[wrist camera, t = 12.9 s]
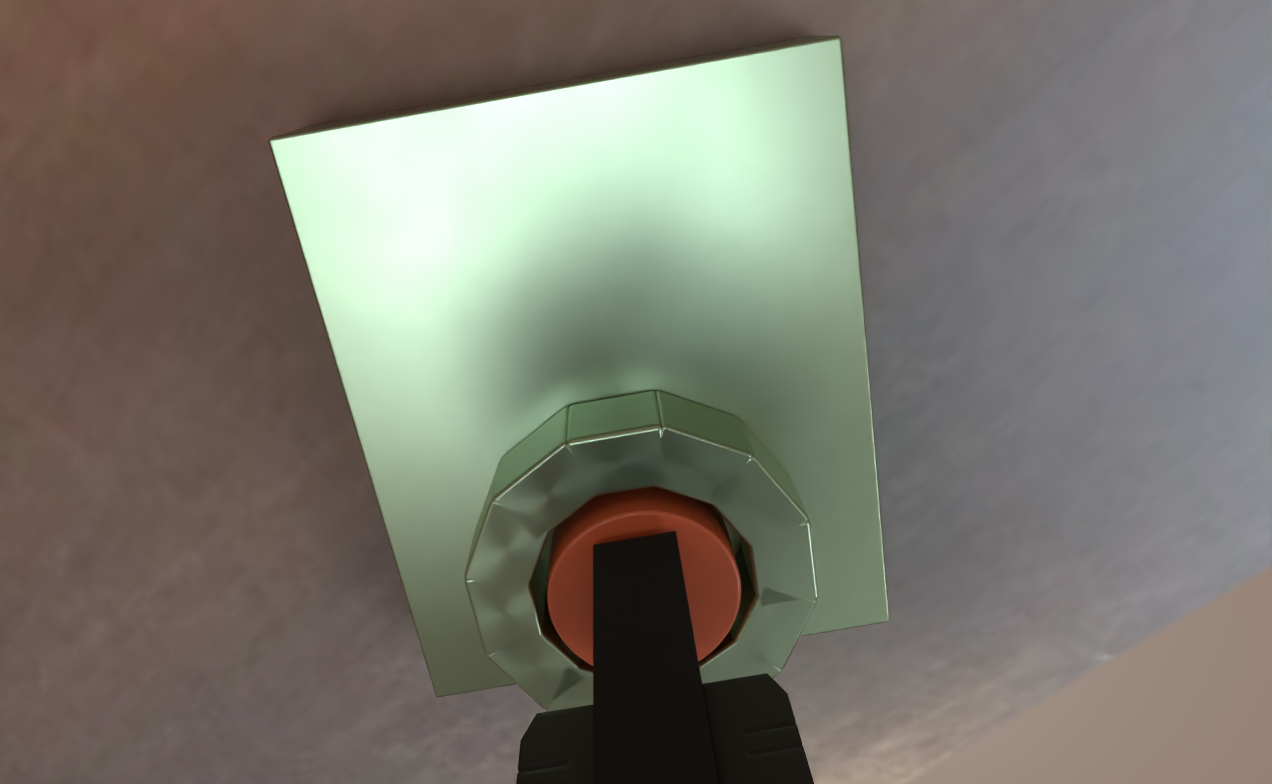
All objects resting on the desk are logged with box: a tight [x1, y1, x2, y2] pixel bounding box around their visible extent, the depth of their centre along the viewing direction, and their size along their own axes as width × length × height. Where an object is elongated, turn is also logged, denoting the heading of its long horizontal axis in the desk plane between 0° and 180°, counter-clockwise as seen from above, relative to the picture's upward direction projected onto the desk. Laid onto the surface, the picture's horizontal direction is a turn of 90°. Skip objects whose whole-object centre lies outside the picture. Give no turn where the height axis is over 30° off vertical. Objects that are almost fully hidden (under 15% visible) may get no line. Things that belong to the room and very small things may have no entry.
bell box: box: [269, 36, 890, 712], centre depth 18 cm, size 12×10×4 cm
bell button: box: [547, 487, 741, 665], centre depth 18 cm, size 4×4×2 cm
